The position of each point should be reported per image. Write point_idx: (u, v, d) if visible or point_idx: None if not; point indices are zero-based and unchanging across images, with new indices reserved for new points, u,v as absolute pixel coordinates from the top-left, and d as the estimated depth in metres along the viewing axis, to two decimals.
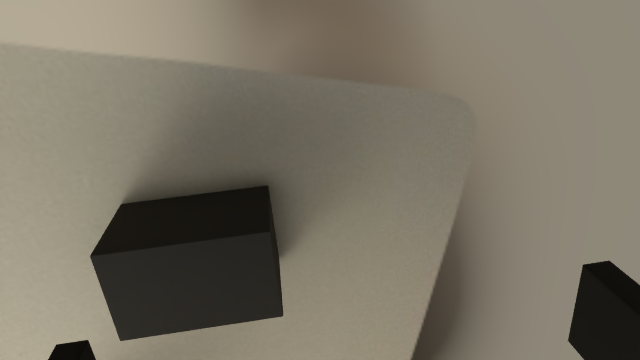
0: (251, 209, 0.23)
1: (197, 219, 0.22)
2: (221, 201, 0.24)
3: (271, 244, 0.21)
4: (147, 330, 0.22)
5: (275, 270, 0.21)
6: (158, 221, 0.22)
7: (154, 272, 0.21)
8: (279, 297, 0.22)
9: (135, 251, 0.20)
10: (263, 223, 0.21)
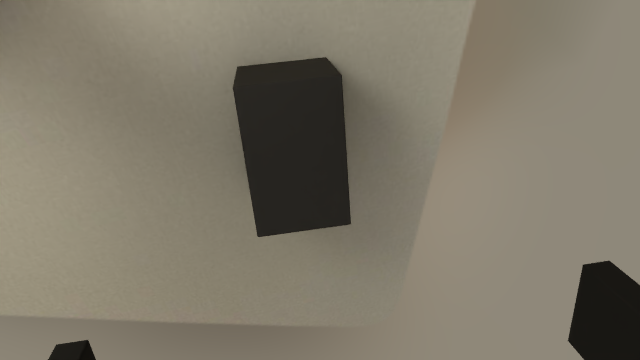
0: None
1: None
2: None
3: (337, 225, 0.24)
4: (246, 116, 0.21)
5: (310, 229, 0.24)
6: None
7: (317, 130, 0.22)
8: (280, 233, 0.24)
9: (342, 116, 0.22)
10: None
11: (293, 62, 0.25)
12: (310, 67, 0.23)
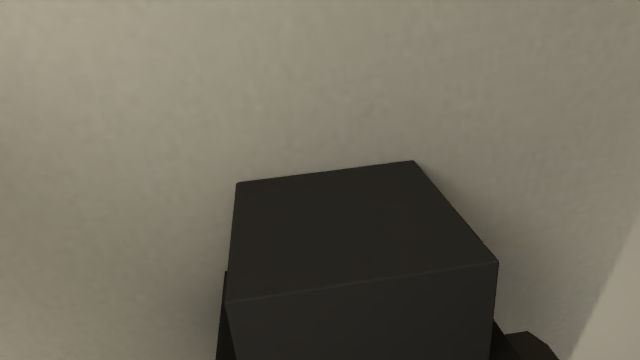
0: None
1: None
2: None
3: None
4: (259, 358, 0.08)
5: None
6: None
7: None
8: None
9: (487, 343, 0.09)
10: None
11: (351, 176, 0.12)
12: (398, 205, 0.10)
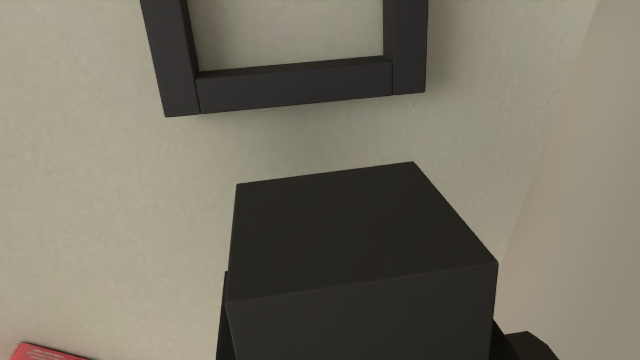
0: None
1: None
2: None
3: None
4: (259, 359, 0.08)
5: None
6: None
7: None
8: None
9: (487, 344, 0.09)
10: None
11: (351, 176, 0.12)
12: (397, 206, 0.10)
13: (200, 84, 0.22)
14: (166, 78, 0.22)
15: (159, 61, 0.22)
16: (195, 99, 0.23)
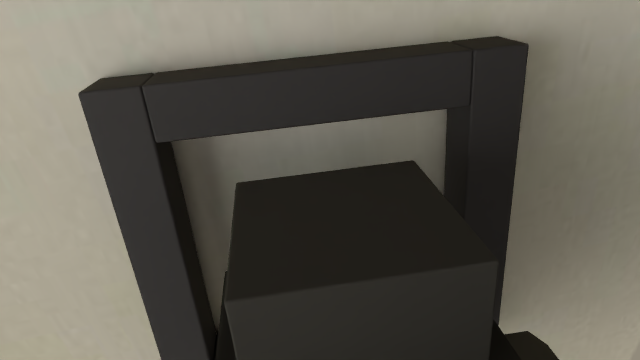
0: None
1: None
2: None
3: None
4: (259, 358, 0.08)
5: None
6: None
7: None
8: None
9: (488, 343, 0.09)
10: None
11: (351, 175, 0.12)
12: (398, 205, 0.10)
13: None
14: None
15: (168, 356, 0.17)
16: None
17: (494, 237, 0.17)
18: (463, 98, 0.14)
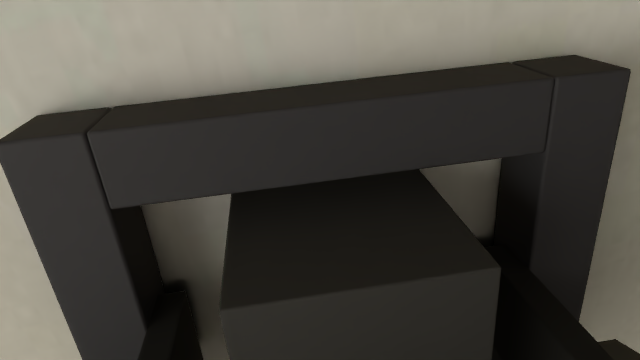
0: None
1: None
2: None
3: None
4: None
5: None
6: None
7: None
8: None
9: (489, 350, 0.09)
10: None
11: (349, 178, 0.12)
12: (397, 209, 0.10)
13: None
14: None
15: None
16: None
17: None
18: (537, 143, 0.10)
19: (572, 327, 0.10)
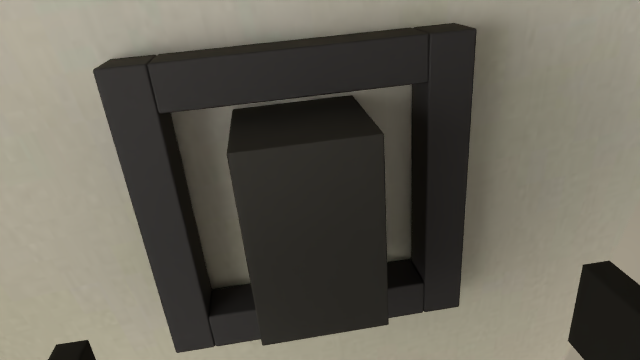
0: None
1: None
2: None
3: (371, 326, 0.18)
4: (247, 192, 0.15)
5: (333, 332, 0.18)
6: None
7: (347, 207, 0.15)
8: (293, 339, 0.17)
9: (383, 188, 0.15)
10: None
11: (308, 103, 0.18)
12: (334, 115, 0.16)
13: (214, 321, 0.20)
14: (177, 319, 0.20)
15: (169, 305, 0.20)
16: (209, 334, 0.21)
17: (453, 199, 0.19)
18: (422, 75, 0.17)
19: None
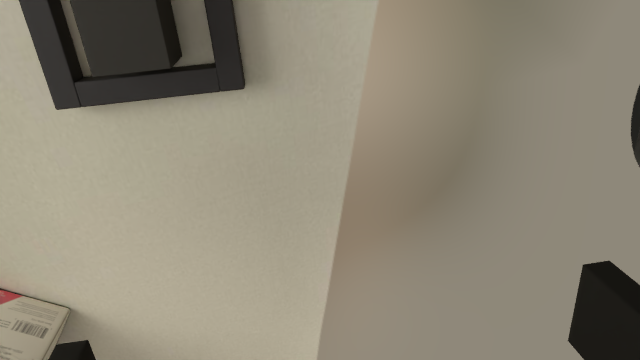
0: (174, 49, 0.31)
1: (164, 9, 0.30)
2: (172, 23, 0.32)
3: (159, 69, 0.29)
4: None
5: (136, 71, 0.29)
6: None
7: None
8: (111, 74, 0.29)
9: None
10: (171, 61, 0.30)
11: None
12: None
13: (78, 86, 0.32)
14: (53, 82, 0.32)
15: (47, 71, 0.31)
16: (76, 96, 0.32)
17: (222, 3, 0.31)
18: None
19: None
